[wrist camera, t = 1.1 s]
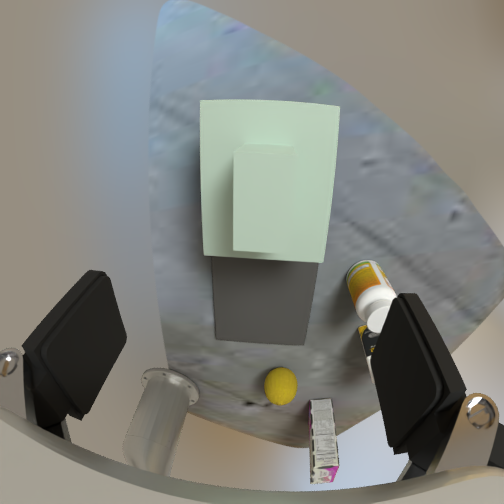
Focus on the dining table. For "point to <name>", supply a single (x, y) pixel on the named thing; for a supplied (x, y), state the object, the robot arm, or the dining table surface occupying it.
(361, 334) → the medicine bottle
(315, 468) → the candy bar box
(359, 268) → the supplement bottle
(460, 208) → the dining table surface
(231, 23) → the dining table surface
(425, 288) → the dining table surface
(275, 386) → the lemon
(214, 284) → the mat
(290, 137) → the lid
